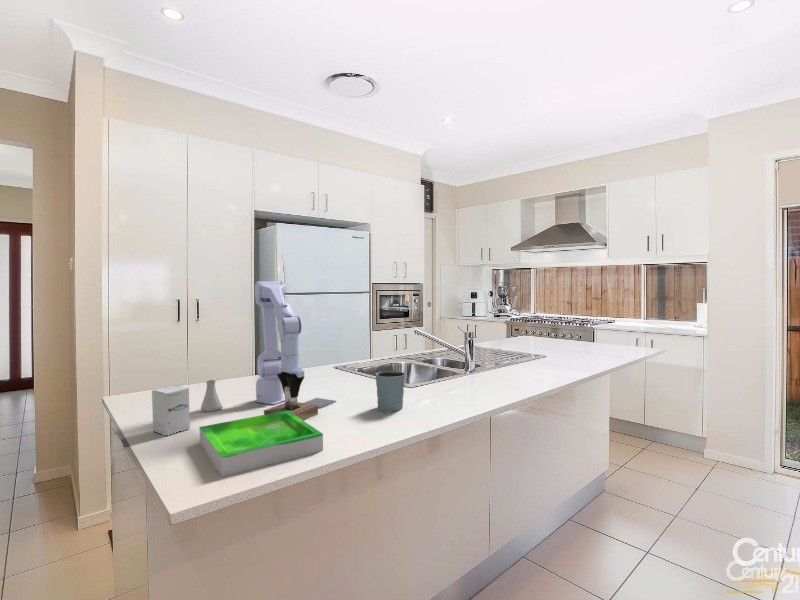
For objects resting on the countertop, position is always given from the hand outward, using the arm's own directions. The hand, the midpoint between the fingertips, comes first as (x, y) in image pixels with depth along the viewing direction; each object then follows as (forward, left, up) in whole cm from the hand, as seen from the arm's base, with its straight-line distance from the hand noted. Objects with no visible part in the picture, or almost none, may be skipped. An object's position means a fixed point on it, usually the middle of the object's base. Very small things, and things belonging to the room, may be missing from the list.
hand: (291, 395), depth 140 cm
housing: (0, 0, -7) cm, 7 cm away
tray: (+10, -23, -8) cm, 26 cm away
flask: (-31, -6, -7) cm, 32 cm away
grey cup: (+24, +23, -7) cm, 34 cm away
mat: (-2, +16, -7) cm, 18 cm away
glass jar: (0, 0, -4) cm, 4 cm away
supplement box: (-23, -26, -7) cm, 35 cm away
